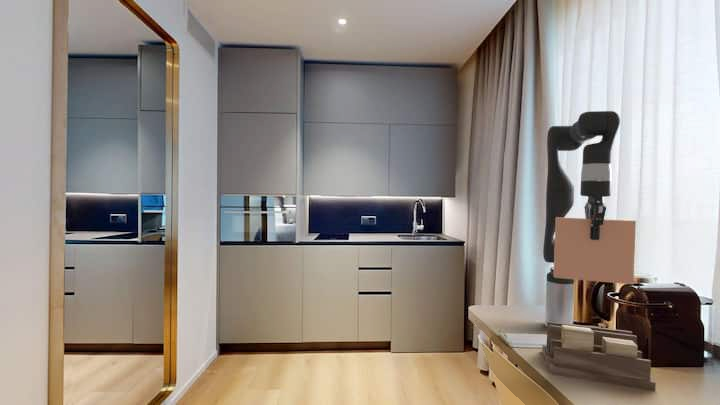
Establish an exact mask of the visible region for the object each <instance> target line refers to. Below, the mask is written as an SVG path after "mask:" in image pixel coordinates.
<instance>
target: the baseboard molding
mask: <svg viewBox="0 0 720 405" xmlns="http://www.w3.org/2000/svg"><path fill="white" fill-rule="evenodd" d="M498 336H499V337H500V338H501V339H502V340H503V341H504V342H505V344H507V345H508V346H509V348H511V349H541V350H542V345H545V346H547V333H546V334H543V333H542V334H541V333H540V334H538V333H512V332H511V333H510V332H508V333H507V332H506V333H505V332H500V330H498Z"/></svg>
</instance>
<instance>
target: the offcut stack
mask: <svg viewBox="0 0 720 405" xmlns="http://www.w3.org/2000/svg"><path fill="white" fill-rule="evenodd" d="M593 345H594V332H593V331H592V330H591V329H590V328H585V327H577V326H568V325H562V339H561V348H568V349H575V350H582V351H590V352H593ZM637 351H638V344H637V345H636V344H635V343H634V342H633V341H631V340H623V339H615V338H607V337H602V353H604V354H611V355H618V356H625V357H633V358H637Z"/></svg>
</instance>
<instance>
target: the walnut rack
mask: <svg viewBox="0 0 720 405" xmlns="http://www.w3.org/2000/svg"><path fill="white" fill-rule="evenodd" d="M562 325H568V326H577V327H585V328H590V329H591V330H592V331H593V332H594V345H593V352H590V351H582V350H575V349H568V348H561V339H562ZM546 335H547V346H545V345H542V349H541V352H542V355H543V357H544V360H545V363H546V366H547V369H548V368H549V369H548V371H550V372H549V374H550V373H553V374H552V375H556V374H559V375H558V376H562V375H563V376H564V377H571V378H575V379H581V380H589V381H595V382H601V383H608V384H615V385H619V386H626V387H631V388H637V389H644V390H649V391H656V386H657V385H656V384H657V383H656V381H655V380H654V379H653V378H652V377H651V374H652V373H651V370H652V360H650V359H647V358H646V359H645V358H643V355H642V354H643V352H642V351H640V350H637V358H633V357H625V356H618V355H611V354H604V353H602V337H607V338H615V339H623V340H631V341H633V342H634V343H635V344H636V345H637V346H638V336H637V335H634V334H633V331H630V330H623V329H614V328H607V327H600V326H599V327H597V326H591V325H581V324H575V323H573V324H566V323H558V322H549V321H547V327H546Z"/></svg>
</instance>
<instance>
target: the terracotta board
mask: <svg viewBox="0 0 720 405" xmlns="http://www.w3.org/2000/svg"><path fill="white" fill-rule="evenodd" d="M590 220H591V219H586V217H585V218H584V217H580V218H579V217H564V218H561V217H556V221H555V233H554V238H555V248H554V263H553V271H554V275H553V276H554V278H564V279H574V280H577V281H578V280H579V281H586V282H587V281H590V282H601V283H611V284H612V283H613V284H624V285H634V279H635V278H634V276H635V275H634V273H635V254H636V253H635V252H636V251H635V250H636V226H637V225H636V223H637V222H636V220H630V219H607V218H604V221H603V225H601V227H600V236H599V240H592V239H590V228H591V226H590ZM596 221H598V219H596Z"/></svg>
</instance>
